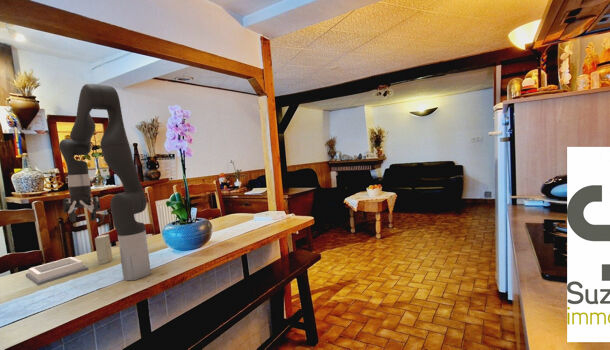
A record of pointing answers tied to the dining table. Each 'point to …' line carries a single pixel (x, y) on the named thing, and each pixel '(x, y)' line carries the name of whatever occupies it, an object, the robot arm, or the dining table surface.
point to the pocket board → (55, 270)
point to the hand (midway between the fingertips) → (83, 220)
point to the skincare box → (103, 249)
